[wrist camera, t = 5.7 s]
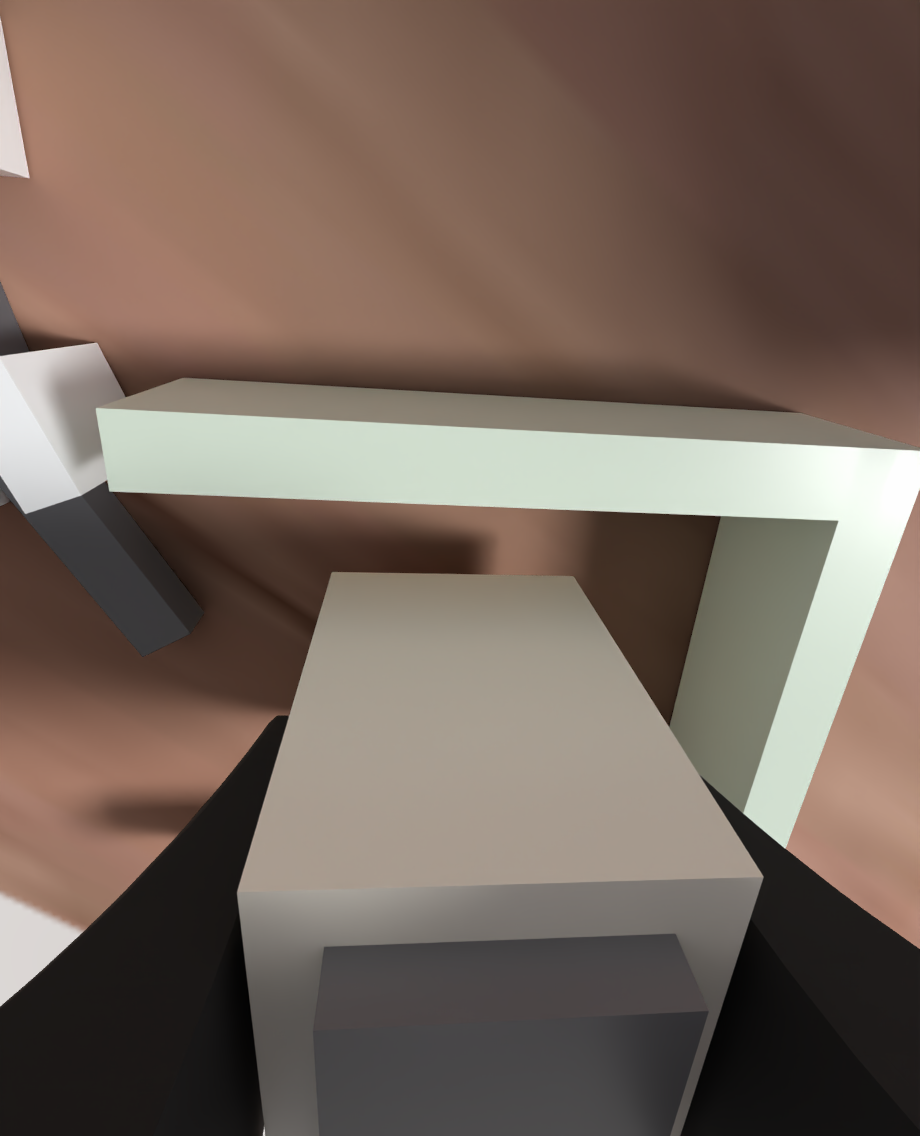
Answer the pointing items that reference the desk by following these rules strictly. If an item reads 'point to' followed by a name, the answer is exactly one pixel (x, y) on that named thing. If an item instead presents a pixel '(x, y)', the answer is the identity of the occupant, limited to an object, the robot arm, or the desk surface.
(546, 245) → the desk surface
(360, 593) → the block
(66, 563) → the cable
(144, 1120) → the robot arm
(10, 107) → the clips
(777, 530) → the holder
